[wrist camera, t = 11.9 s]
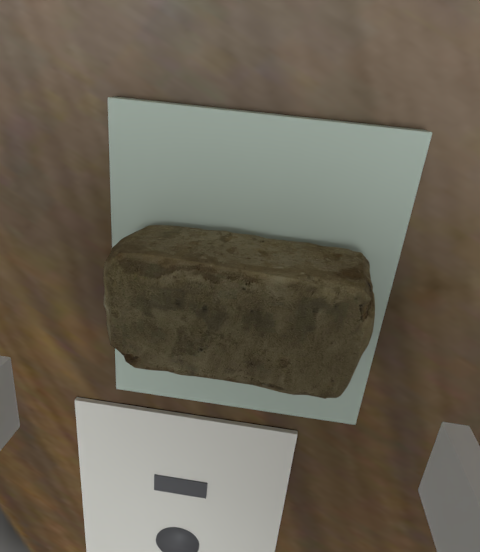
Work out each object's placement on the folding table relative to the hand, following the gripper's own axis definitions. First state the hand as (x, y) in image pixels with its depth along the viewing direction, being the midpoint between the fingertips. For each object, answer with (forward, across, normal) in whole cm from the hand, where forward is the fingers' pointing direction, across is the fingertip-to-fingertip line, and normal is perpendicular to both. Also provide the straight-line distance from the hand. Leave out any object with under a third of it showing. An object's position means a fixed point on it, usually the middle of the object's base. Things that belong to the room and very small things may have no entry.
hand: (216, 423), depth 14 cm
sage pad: (+11, 0, 0) cm, 11 cm away
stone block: (+10, 0, 0) cm, 10 cm away
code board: (+11, +3, +18) cm, 22 cm away
